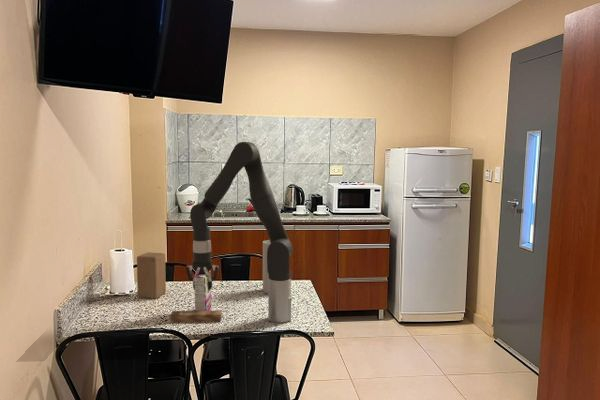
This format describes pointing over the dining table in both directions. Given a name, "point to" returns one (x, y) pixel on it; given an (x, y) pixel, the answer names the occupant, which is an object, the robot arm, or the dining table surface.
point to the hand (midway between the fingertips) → (202, 289)
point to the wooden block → (151, 275)
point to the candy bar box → (202, 293)
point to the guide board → (196, 316)
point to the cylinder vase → (265, 267)
